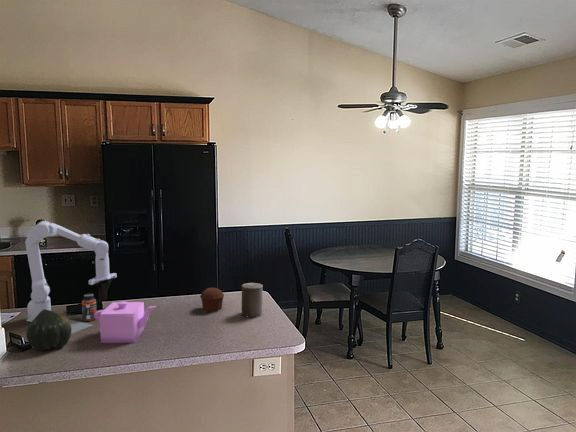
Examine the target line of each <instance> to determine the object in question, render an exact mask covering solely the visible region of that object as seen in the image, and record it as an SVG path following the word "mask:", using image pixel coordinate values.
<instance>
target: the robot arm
mask: <svg viewBox="0 0 576 432" xmlns="http://www.w3.org/2000/svg"><path fill="white" fill-rule="evenodd" d="M49 235H50V237H53V236H61V237H63V238H66V239H69V240H71V241H74V242H76V243H77V245H78V246H79V247H82V248H84V249H87V250H89V251H92V252H93V251H94V253H95V277H93V278H91V279H89V280H88V285H90V286H92V285H96V287H97V288H98V291H99V293H100V297H107V296H108V291H109V288H110V285H111V283H112V280H111V279H116V278H117V277H118V275H117V273H116V272H113V273H111V272H110V258H109V243H108V242H107V241H105V240H103V239H102V240H101V239H100V238H95V237H93V236H91V234H89V233H87V234H86V233H82V234H79V233H76V232H74V231H72V230H70V229H68V228H66V227H64V226H61V225H59V224H56V223H54V222H50V221H49V220H42V221H40V222H38V223H37V224H36V225H34V226H33V227H32V228H31V229H30V231H29V233H28V236H27V238H26V239H25V241H24V242H25V248H26V249H25V250H26V253H27V258H28V261H27V262H28V265H29V269H30V270H29V271H30V276H31V291H32V292H31V293H30V298H31V300H30V301H29V302H28V304H27V307H26V308H27V318H26V321H27V322H30V323H31V322H32V321H33V320H34V319H35V317H36V316H37V315H38V314H39V313H40V312H41V311H42V310H43V309H46V310H50V311H52V306H51V297H50V296H49V295H50V292H51V288H50V286H49V284H48V282H47V279H46V277H45V274H44V273H45V272H44V269H43V268H44V267H43V262H42V256H41V251H40V245H39V244H40V242H41V241H43V239H45V238H47V237H49Z"/></svg>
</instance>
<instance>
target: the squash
mask: <svg viewBox="0 0 576 432" xmlns="http://www.w3.org/2000/svg"><path fill="white" fill-rule="evenodd" d="M69 320H70V319H69ZM69 320H68V318H67V317H66V316H64V315H62V314H60V313H57V312H56V311H52V310H51V311H50V310H46V309H43V310H42V311H41V312H40V313H39V314H38V315H37V316H36V317H35V319H34V320H33V321H32V322H30V323H29V325H28V326H27V328H26V339H27V342H28V344H29V346H31V347H33V348H34V349H35V350H36V351H41V352H42V351H46V350H49V349H51V348H52V347H53V348H54V347H55V348H62V347H65V346H66V345H67V344H68V342H69V340H70V338H71V335H72V334H71V324H70V322H69Z"/></svg>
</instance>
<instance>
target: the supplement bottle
mask: <svg viewBox="0 0 576 432" xmlns="http://www.w3.org/2000/svg"><path fill="white" fill-rule="evenodd" d="M97 311H98V310H97V299H96V298H95V297H94V293H87V294H86V293H85V294H84V295H83V299H82V300H81V312H82V313H81V315H82V321H83V322H92V321H95V320H96V318H95V317H94V313H95V312H97Z"/></svg>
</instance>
